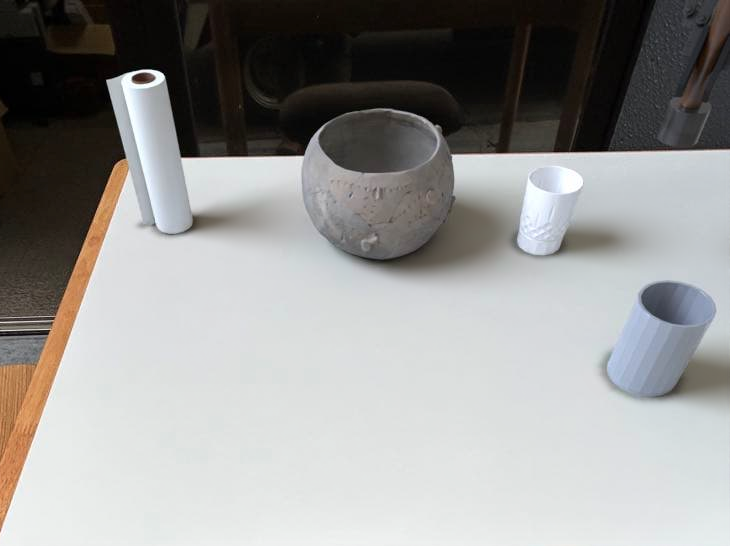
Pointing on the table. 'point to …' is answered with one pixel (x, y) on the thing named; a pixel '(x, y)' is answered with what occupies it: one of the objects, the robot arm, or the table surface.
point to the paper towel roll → (152, 148)
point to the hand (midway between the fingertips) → (692, 93)
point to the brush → (696, 88)
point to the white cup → (548, 208)
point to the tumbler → (660, 337)
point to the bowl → (378, 182)
